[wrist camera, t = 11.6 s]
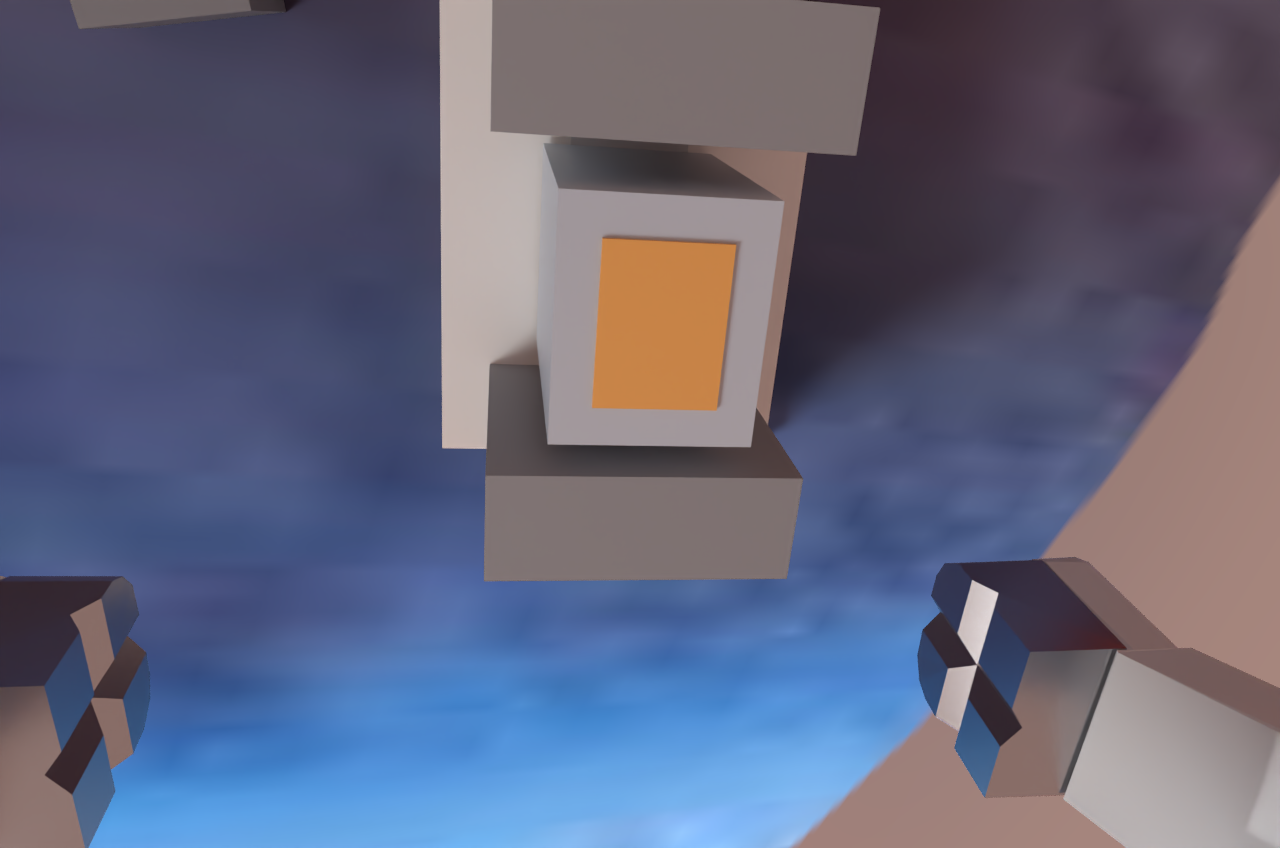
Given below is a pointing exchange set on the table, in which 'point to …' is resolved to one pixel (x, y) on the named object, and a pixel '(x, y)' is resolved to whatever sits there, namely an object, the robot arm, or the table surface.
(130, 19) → the block
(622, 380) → the block
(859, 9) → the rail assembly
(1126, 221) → the table surface
